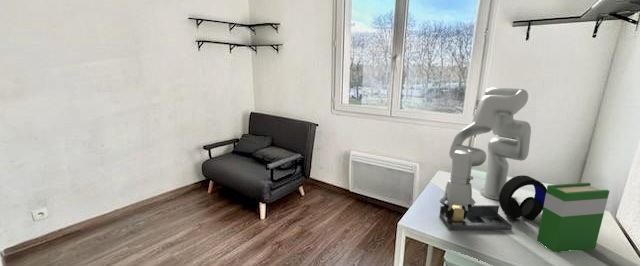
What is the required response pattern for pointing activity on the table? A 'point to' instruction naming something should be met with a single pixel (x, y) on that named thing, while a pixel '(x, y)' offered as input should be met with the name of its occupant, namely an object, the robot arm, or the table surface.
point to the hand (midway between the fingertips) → (455, 217)
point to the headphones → (529, 206)
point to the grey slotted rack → (477, 213)
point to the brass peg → (457, 214)
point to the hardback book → (572, 217)
